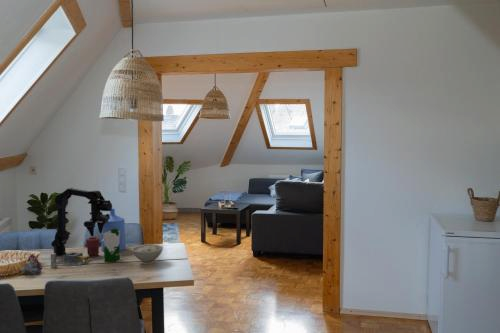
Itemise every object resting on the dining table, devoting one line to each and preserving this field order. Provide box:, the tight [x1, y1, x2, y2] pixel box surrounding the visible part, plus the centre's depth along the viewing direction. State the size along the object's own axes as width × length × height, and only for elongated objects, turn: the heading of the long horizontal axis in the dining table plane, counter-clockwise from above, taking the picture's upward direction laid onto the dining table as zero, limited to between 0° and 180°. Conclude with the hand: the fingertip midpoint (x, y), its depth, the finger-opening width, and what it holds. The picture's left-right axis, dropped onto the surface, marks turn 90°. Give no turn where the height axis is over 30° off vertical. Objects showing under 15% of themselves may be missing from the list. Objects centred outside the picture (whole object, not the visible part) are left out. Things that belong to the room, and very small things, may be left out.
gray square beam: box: [50, 252, 58, 268], centre depth 291 cm, size 2×2×8 cm
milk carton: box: [102, 229, 121, 263], centre depth 303 cm, size 9×9×20 cm
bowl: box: [131, 244, 164, 265], centre depth 298 cm, size 19×19×10 cm
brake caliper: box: [19, 253, 44, 275], centre depth 278 cm, size 11×11×12 cm
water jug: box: [101, 208, 126, 252], centre depth 331 cm, size 16×16×28 cm
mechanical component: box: [84, 236, 102, 258], centre depth 315 cm, size 12×10×10 cm
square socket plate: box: [56, 251, 93, 266], centre depth 301 cm, size 19×12×5 cm, turn 75°
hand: (96, 234), depth 311 cm, fingers open, 9 cm apart
